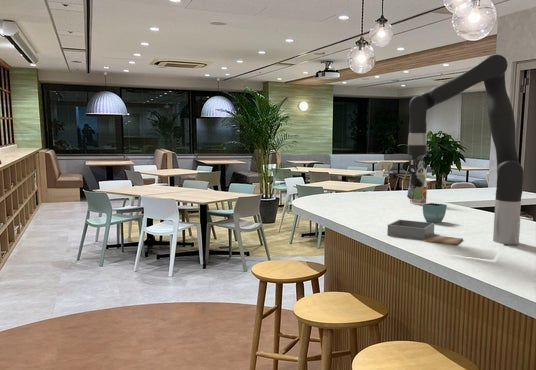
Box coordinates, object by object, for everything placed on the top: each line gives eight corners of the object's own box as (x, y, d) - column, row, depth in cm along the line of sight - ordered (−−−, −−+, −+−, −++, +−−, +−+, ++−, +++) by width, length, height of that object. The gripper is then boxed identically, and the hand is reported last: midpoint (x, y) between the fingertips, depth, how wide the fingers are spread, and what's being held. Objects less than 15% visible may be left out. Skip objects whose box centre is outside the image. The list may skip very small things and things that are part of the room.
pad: (462, 239, 196) (462, 238, 196) (456, 245, 186) (456, 244, 186) (432, 236, 202) (432, 235, 202) (425, 241, 192) (425, 240, 192)
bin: (434, 233, 208) (434, 223, 208) (424, 239, 195) (424, 228, 195) (398, 229, 217) (399, 219, 216) (387, 235, 204) (387, 224, 203)
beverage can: (410, 198, 208) (411, 171, 207) (427, 200, 204) (427, 172, 203) (404, 200, 204) (405, 172, 202) (421, 201, 199) (422, 173, 198)
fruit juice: (408, 204, 294) (410, 159, 292) (424, 204, 293) (426, 159, 291) (411, 206, 285) (413, 160, 282) (427, 207, 284) (429, 160, 281)
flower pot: (429, 220, 241) (430, 202, 240) (446, 222, 235) (447, 204, 234) (421, 222, 235) (421, 204, 234) (438, 224, 229) (439, 206, 228)
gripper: (421, 144, 193) (420, 185, 195) (430, 143, 205) (429, 182, 207) (403, 144, 197) (402, 184, 199) (413, 143, 209) (412, 181, 211)
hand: (416, 183), depth 203 cm, fingers closed on beverage can, 6 cm apart
